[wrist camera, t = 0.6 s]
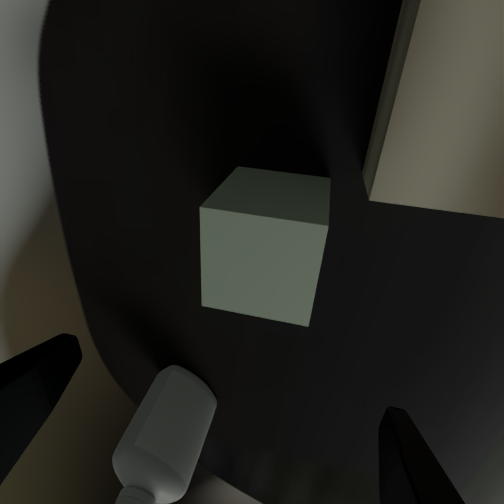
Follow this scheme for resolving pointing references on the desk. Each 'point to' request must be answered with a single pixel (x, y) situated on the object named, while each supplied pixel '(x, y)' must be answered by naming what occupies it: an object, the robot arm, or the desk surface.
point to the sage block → (264, 243)
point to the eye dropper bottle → (164, 439)
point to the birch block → (442, 110)
